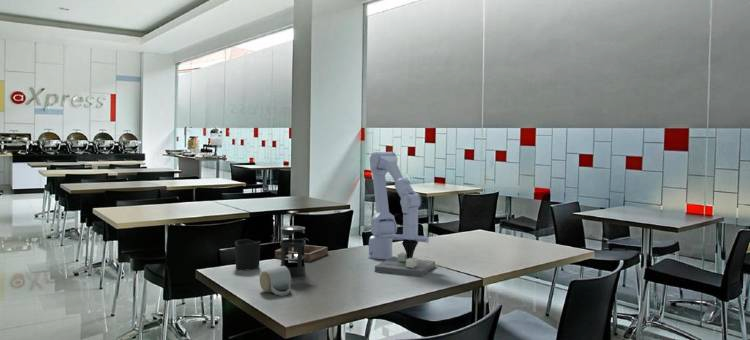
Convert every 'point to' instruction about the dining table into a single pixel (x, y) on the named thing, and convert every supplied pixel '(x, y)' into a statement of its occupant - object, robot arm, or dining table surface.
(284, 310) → the dining table surface
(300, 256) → the french press
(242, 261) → the pen holder
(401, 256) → the sage fader
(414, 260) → the block
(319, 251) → the tray
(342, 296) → the dining table surface
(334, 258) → the dining table surface
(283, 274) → the ceramic mug
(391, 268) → the console
